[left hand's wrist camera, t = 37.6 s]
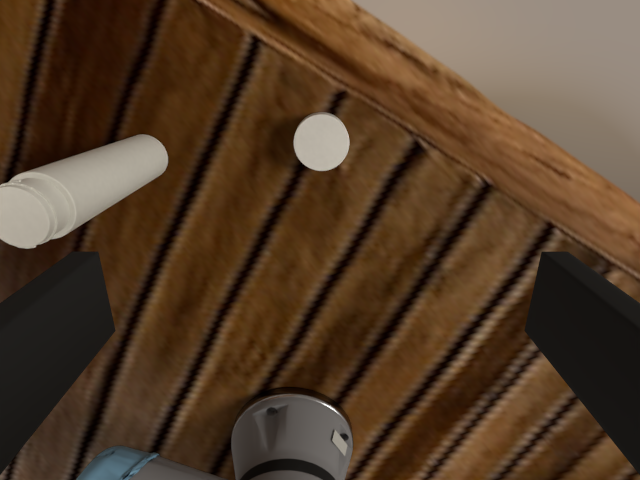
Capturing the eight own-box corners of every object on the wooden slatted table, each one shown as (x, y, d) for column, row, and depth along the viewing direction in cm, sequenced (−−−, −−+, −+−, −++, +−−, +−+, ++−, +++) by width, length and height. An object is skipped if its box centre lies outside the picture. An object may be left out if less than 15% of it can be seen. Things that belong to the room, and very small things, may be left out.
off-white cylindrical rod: (118, 137, 39) (-38, 185, 22) (161, 131, 39) (38, 176, 22) (131, 180, 41) (-6, 256, 24) (172, 175, 41) (66, 248, 24)
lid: (332, 174, 41) (333, 180, 39) (286, 151, 40) (284, 155, 38) (357, 127, 39) (359, 131, 37) (309, 102, 38) (309, 103, 36)
